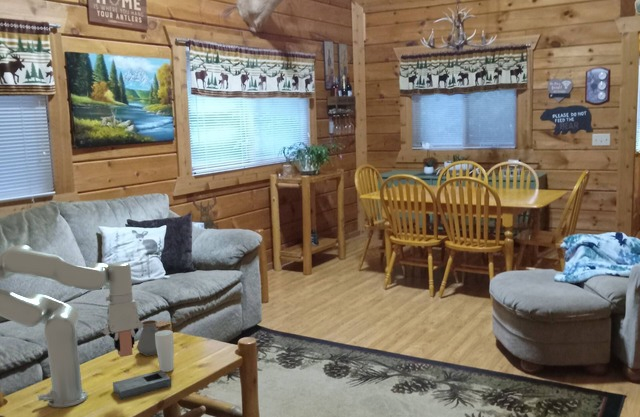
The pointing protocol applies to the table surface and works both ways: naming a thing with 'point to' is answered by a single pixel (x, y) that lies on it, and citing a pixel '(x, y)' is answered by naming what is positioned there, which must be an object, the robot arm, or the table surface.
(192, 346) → the table surface
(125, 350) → the square peg
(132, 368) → the table surface
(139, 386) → the square hole plate
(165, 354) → the drinking glass
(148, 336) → the coffee pot
